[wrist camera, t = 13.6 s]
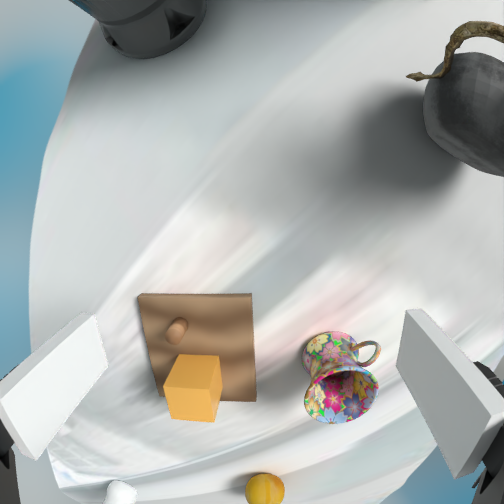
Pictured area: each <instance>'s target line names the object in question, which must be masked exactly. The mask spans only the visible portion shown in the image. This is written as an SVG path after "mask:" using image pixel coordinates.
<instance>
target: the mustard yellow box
mask: <svg viewBox="0 0 504 504" xmlns="http://www.w3.org/2000/svg"><path fill="white" fill-rule="evenodd" d="M163 388H164V392H165V396H166V399H167V403H168V407H169V411H170V414H171V418H172V419H179V420H189V421H201V422H215V418H216V413H217V409H218V405H219V401H220V397H221V392H222V388H223V386H222V378H221V370H220V361H219V356H212V355H186V354H179V355H178V357H177V359H176V361H175V363H174V365H173V367H172V369H171V371H170V373H169V375H168V377H167V379H166V381H165V384H164V386H163Z"/></svg>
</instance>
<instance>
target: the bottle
mask: <svg viewBox="0 0 504 504" xmlns="http://www.w3.org/2000/svg"><path fill="white" fill-rule="evenodd" d="M106 492H107V494H106V498H105V500H104V502H103V504H134V503H135V502H136V500H137V496H138V493H137V490H136V489H135V488H134V487H133V486H131V485H130V484H128V483H126V482H123V481H119V480H114V481H112V482H111V483H110V484H109V486H108V488H107V491H106Z"/></svg>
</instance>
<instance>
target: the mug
mask: <svg viewBox="0 0 504 504" xmlns="http://www.w3.org/2000/svg"><path fill="white" fill-rule="evenodd" d="M366 345H375V346H376V350H375V353H374V354H373V356H372V357H371V358H370V359H369V360H368V361H366V362H364V363H360V362H359V361H357V360H358V356H359V348H361V347H363V346H366ZM380 351H381V348H380V345H379V344H378V343H377V342H375V341H364V342H361V343H359V344H357V343H356V342H355V340H354V339H353V338H352V337H351V336H349V335H347V334H345V333H342V332H327V333H323V334H321V335H318V336H317V337H315V338H314V339H312V340H311V341H310V342H309V343H308V344H307V346H306V347H305V349H304V352H303V355H302V363H303V366H304V368H305V370H306V371H307V372H308V374H310V375H311V384H310V386H309V388H308V389H307V391H306V394H305V397H304V405H305V408H306V411H307V412H308V414H309V415H310V416H311V417H313V418H314V419H316V420H318V421H320V422H323V423H329V424H338V423H344V422H348V421H351V420H354V419H356V418H358V417H360V416H361V415H363V414H364V413H365V412H367V411H368V410H369V409H370V408H371V407H372V405H373V404H374V402H375V400H376V398H377V396H378V383H377V380H376V378H375V377H374V376H373V375H372V374H371V373H370V372H369V371H367V370H365V369H363V368H362V367H367V366H369V365H371V364H372V363H373V362H375V360H376V359H377V358H378V356H379V354H380Z"/></svg>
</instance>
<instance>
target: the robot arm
mask: <svg viewBox="0 0 504 504" xmlns="http://www.w3.org/2000/svg"><path fill="white" fill-rule="evenodd" d="M69 1H71V2H72V3H74V4H75V5H77V6H78V7H80V8H81V9H83V10H84V11H85V12H87V13H88V14H90V15H91V16H93V17H94V18H95V19H97V20H98V21H99V23H100V26H101V29H102V31H103V34H104V36H105V39H106V40H107V42H108V43H109V44H110V46H111V47H113V48H114V49H115V50H117V51H118V52H119V53H121V54H123V55H125V56H127V57H131V58H137V59H145V58H152V57H157V56H160V55H163V54H165V53H168V52H170V51H172V50H174V49H175V48H177V47H179V46H180V45H182V44H183V43H184V42H186V41H187V40H188V39H189V38H190V37H191V36H192V35H193V34H194V33H195V32H196V30H197V29H198V28H199V26H200V24H201V23H202V21H203V18H204V16H205V12H206V0H69ZM108 366H109V364H108V361H107V357H106V354H105V351H104V347H103V343H102V340H101V336H100V332H99V328H98V324H97V320H96V316H95V313H83V312H81V313H80V314H79V315H78V316H77V317H75V318H74V319H73V320H72V321H70V322H69V323H68V324H67V325H65V326H64V327H63V328H62V329H61V330H59V331H58V332H57V333H56V334H55V335H53V336H52V337H51V338H50V339H49V340H47V341H46V342H45V343H44V344H43V345H41V346H40V347H39V348H38V349H37V350H36V351H34V352H33V353H32V354H31V355H30V356H29V357H27V358H26V359H25V360H24V361H23V362H22V363H21V364H19V365H17V366H16V367H15V368H14V369H12V370H11V371H10V373H9V374H7V375H6V376H4V378H3V379H1V380H0V504H21V503H20V497H19V490H18V483H17V475H16V466H15V455H14V452H13V450H12V448H11V446H12V445H13V444H14V443H15V444H16V445H17V447H18V449H19V450H20V452H21V453H22V454H23V455H25V456H27V457H29V458H32V459H34V460H36V461H37V459H38V458H39V457H40V455H41V454H42V453H43V451H44V450H45V448H46V447H47V446H48V444H49V443H50V442H51V440H52V439H53V438H54V436H55V435H56V434H57V432H58V431H59V429H60V428H61V427H62V425H63V424H64V423H65V421H66V420H67V419H68V417H69V416H70V415H71V414H72V412H73V411H74V410H75V408H76V407H77V406H78V404H79V403H80V402H81V400H82V399H83V398H84V397H85V395H86V394H87V393H88V391H89V390H90V389H91V387H92V386H93V385H94V384H95V382H96V381H97V380H98V379H99V377H100V376H101V375H102V373H103V372H104V371H105V370H106V368H107V367H108ZM396 367H397V369H398V371H399V373H400V375H401V376H402V378H403V380H404V382H405V384H406V385H407V387H408V389H409V391H410V393H411V394H412V396H413V398H414V400H415V402H416V404H417V406H418V407H419V409H420V411H421V413H422V415H423V417H424V419H425V421H426V423H427V425H428V427H429V428H430V430H431V432H432V434H433V436H434V438H435V440H436V442H437V444H438V446H439V448H440V450H441V452H442V455H443V456H444V459H445V461H446V463H447V465H448V467H449V469H450V471H451V473H452V476H453V478H454V479H457V478H460V477H463V476H465V475H467V474H470V473H473V472H474V471H475V469H476V468H477V467H478V465H479V464H480V462H481V461H483V463H484V464H485V466H486V468H485V469H484V471H483V472H482V473H481V475H480V476H479V477H478V479H477V480H476V482H475V483H474V485H473V486H472V488H475V487H476V486H477V484H478V483H479V484H478V487H477V490H476V493H475V496H474V499H473V502H472V504H504V385H502V382H501V381H500V380H499V378H496V375H495V374H494V373H493V372H492V371H491V370H490V369H489V368H488V367H487V366H485V365H483V364H481V363H480V362H478V361H477V362H472V361H471V360H470V359H469V358H468V357H467V356H466V354H465V353H464V352H463V351H462V350H461V349H460V348H459V347H458V346H457V345H456V344H455V342H454V341H453V340H452V339H451V338H450V337H449V336H448V335H447V334H446V333H445V332H444V331H443V330H442V329H441V328H440V327H439V326H438V325H437V324H436V323H435V321H434V320H433V319H432V318H431V317H430V316H429V315H428V314H427V313H426V312H425V311H424V310H423V309H412V310H406V312H405V319H404V325H403V331H402V337H401V342H400V347H399V353H398V357H397V362H396Z"/></svg>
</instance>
